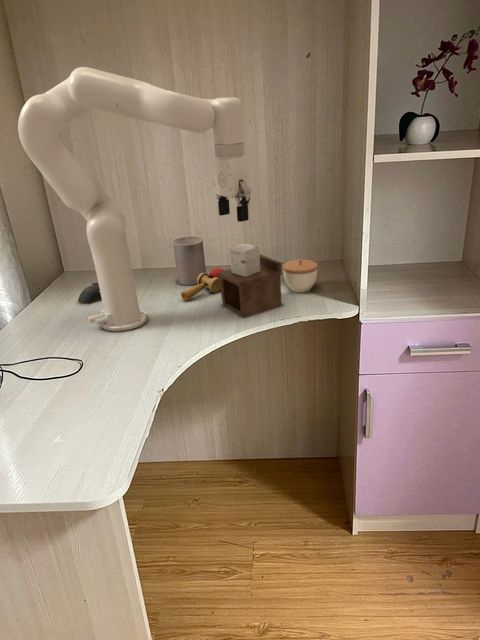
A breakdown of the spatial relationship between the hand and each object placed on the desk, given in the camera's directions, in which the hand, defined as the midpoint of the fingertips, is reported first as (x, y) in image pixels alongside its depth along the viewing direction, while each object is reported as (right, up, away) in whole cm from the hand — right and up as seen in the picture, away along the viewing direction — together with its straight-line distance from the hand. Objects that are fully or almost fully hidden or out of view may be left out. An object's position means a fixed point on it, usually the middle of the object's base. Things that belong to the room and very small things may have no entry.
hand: (233, 217), depth 143 cm
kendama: (-10, -18, +24) cm, 32 cm away
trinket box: (+20, -17, +22) cm, 34 cm away
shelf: (+5, -23, +12) cm, 26 cm away
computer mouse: (-46, -17, +29) cm, 57 cm away
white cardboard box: (+3, -14, +7) cm, 16 cm away
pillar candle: (-16, -13, +35) cm, 40 cm away
